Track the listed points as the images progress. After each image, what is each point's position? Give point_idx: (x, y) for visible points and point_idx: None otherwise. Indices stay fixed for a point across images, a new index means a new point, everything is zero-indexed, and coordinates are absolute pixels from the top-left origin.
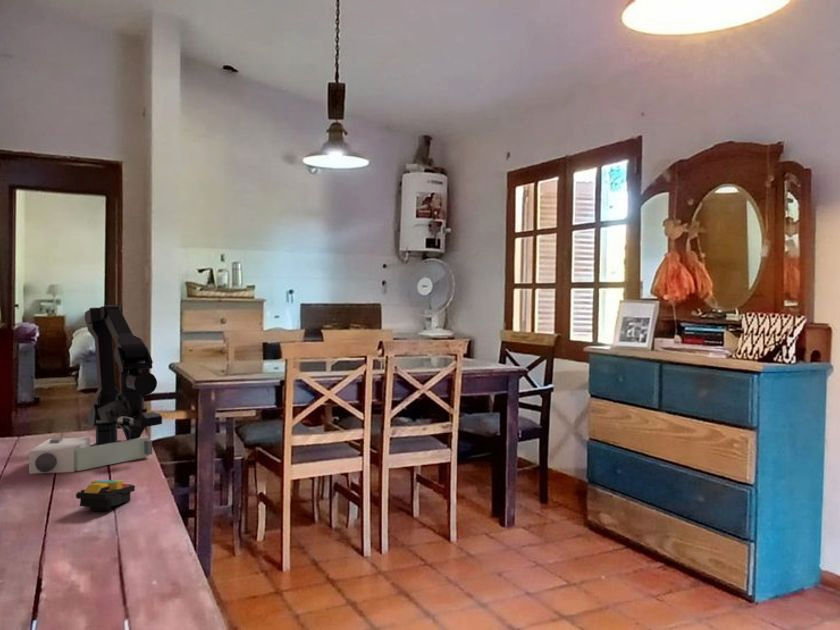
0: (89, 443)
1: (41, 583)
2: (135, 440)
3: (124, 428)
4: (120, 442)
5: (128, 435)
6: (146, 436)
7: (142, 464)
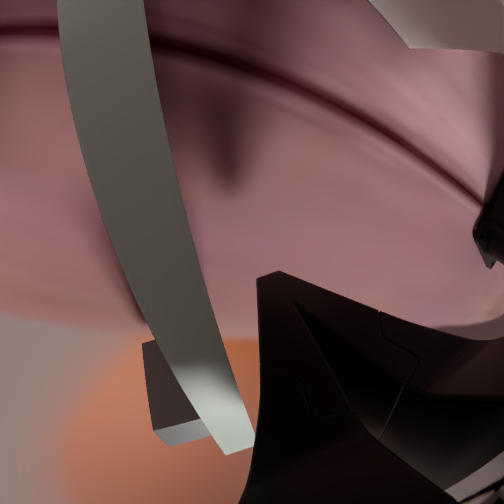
0: (484, 39)
1: None
2: (182, 377)
3: (440, 393)
4: (92, 166)
5: (319, 359)
6: None
7: (13, 265)
